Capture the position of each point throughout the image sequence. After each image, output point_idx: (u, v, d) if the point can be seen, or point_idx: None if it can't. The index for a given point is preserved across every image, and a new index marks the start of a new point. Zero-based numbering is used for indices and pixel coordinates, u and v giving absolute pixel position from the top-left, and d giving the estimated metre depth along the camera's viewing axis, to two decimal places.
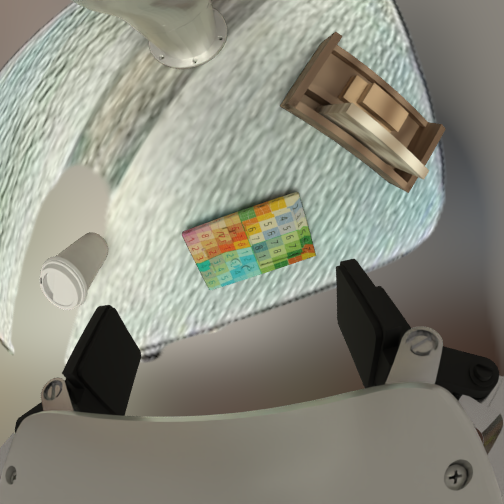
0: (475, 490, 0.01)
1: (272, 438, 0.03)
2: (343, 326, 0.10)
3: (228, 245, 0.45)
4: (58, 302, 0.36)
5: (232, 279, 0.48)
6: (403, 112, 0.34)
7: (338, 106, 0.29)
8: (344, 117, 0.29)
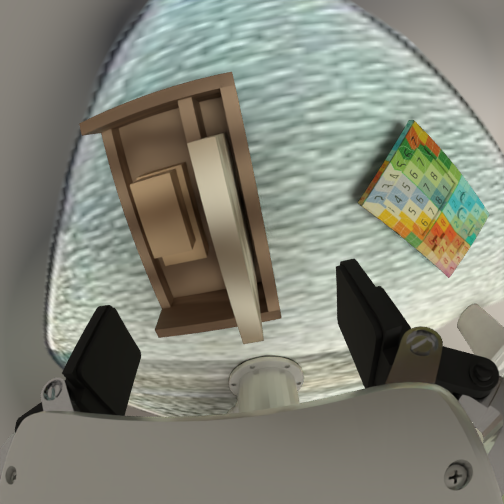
0: (475, 490, 0.01)
1: (272, 438, 0.03)
2: (343, 326, 0.10)
3: (448, 234, 0.29)
4: None
5: (476, 202, 0.27)
6: (137, 192, 0.23)
7: None
8: (258, 307, 0.21)
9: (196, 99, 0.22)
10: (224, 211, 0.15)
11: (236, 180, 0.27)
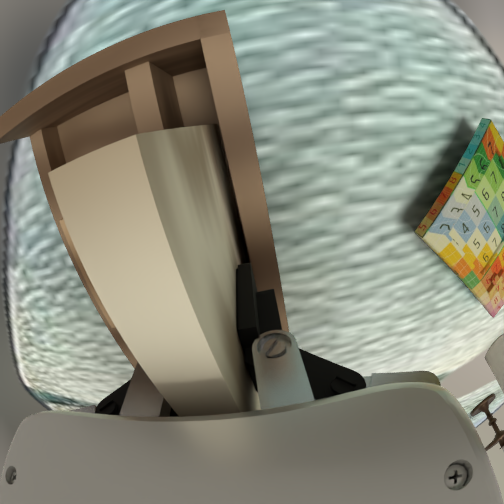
0: (475, 490, 0.01)
1: (272, 438, 0.03)
2: None
3: None
4: None
5: None
6: None
7: None
8: None
9: (164, 69, 0.11)
10: (198, 373, 0.05)
11: (234, 204, 0.17)
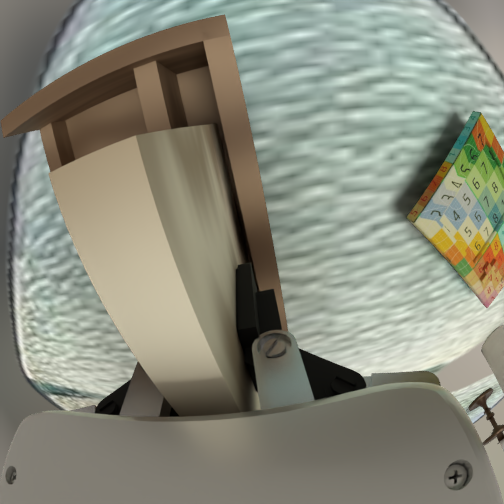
0: (475, 490, 0.01)
1: (272, 438, 0.03)
2: None
3: (498, 259, 0.20)
4: None
5: None
6: None
7: None
8: None
9: (168, 67, 0.12)
10: (198, 372, 0.05)
11: (233, 203, 0.17)
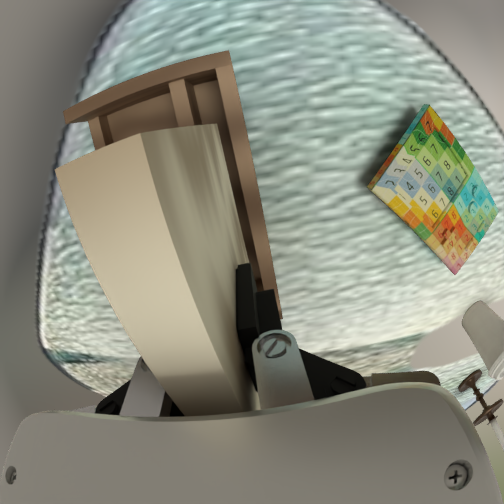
0: (475, 490, 0.01)
1: (272, 438, 0.03)
2: None
3: (457, 228, 0.27)
4: None
5: (487, 197, 0.25)
6: None
7: None
8: None
9: (190, 82, 0.19)
10: (198, 364, 0.05)
11: (233, 202, 0.17)
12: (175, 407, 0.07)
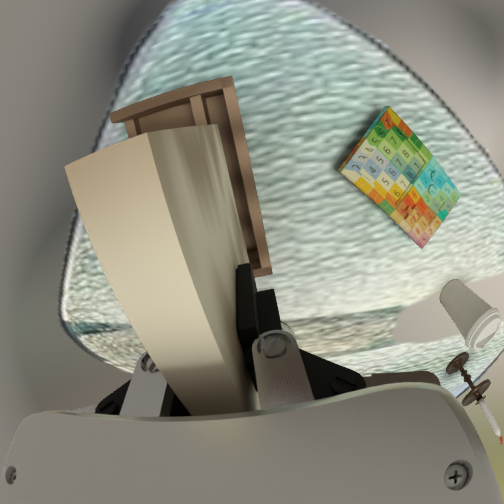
0: (475, 490, 0.01)
1: (272, 438, 0.03)
2: None
3: (419, 206, 0.35)
4: (496, 327, 0.35)
5: (446, 181, 0.33)
6: None
7: None
8: None
9: (203, 96, 0.28)
10: (199, 355, 0.05)
11: (234, 202, 0.17)
12: (175, 407, 0.07)
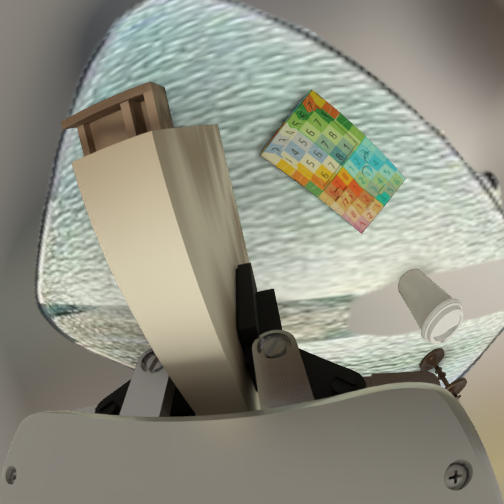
0: (475, 490, 0.01)
1: (272, 438, 0.03)
2: None
3: (352, 188, 0.38)
4: (458, 320, 0.38)
5: (385, 163, 0.36)
6: None
7: None
8: None
9: (135, 101, 0.31)
10: (200, 347, 0.05)
11: (234, 201, 0.17)
12: (175, 407, 0.07)
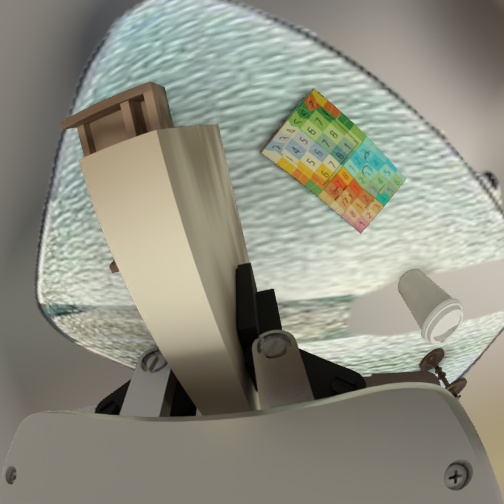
0: (475, 490, 0.01)
1: (272, 438, 0.03)
2: None
3: (352, 187, 0.37)
4: (458, 320, 0.38)
5: (385, 163, 0.36)
6: None
7: None
8: None
9: (135, 101, 0.31)
10: (201, 338, 0.06)
11: (234, 200, 0.18)
12: (175, 407, 0.07)
